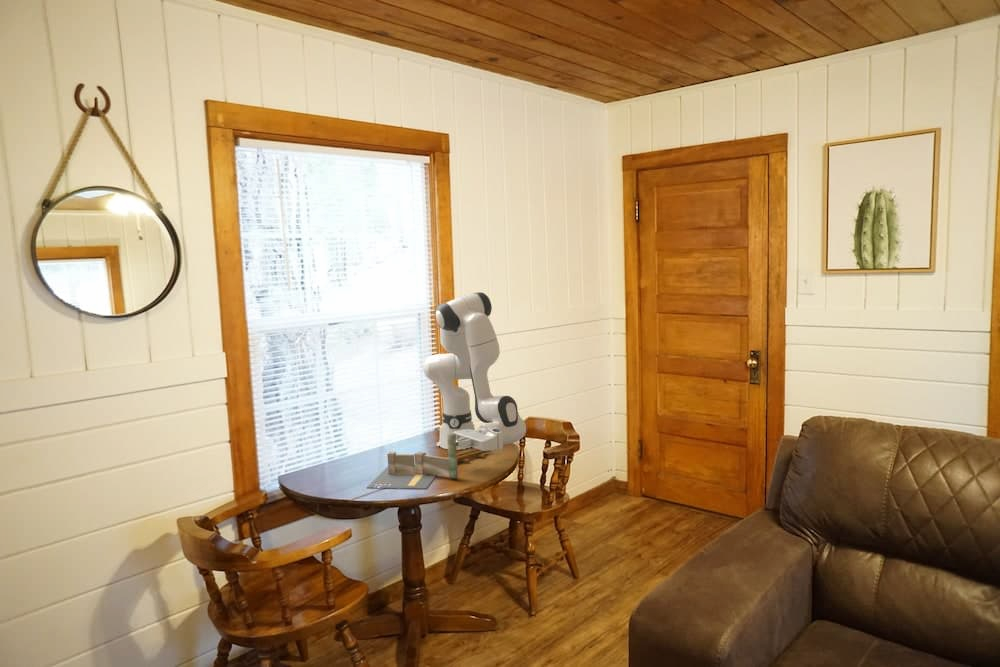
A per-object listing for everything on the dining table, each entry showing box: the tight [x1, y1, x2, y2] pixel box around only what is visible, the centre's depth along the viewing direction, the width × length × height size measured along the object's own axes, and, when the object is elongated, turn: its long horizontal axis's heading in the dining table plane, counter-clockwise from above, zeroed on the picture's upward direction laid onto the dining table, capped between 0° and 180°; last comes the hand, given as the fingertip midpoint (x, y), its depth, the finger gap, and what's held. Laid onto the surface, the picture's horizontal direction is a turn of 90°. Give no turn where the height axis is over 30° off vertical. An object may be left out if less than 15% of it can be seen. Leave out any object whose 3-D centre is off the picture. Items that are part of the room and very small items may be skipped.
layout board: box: [366, 466, 438, 490], centre depth 239 cm, size 26×21×1 cm
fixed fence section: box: [386, 451, 415, 474], centre depth 242 cm, size 2×9×8 cm, turn 82°
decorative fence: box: [443, 448, 492, 464], centre depth 258 cm, size 25×2×10 cm
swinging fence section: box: [413, 434, 459, 479], centre depth 237 cm, size 3×17×15 cm, turn 61°
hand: (456, 443), depth 234 cm, fingers closed, pressing on swinging fence section
